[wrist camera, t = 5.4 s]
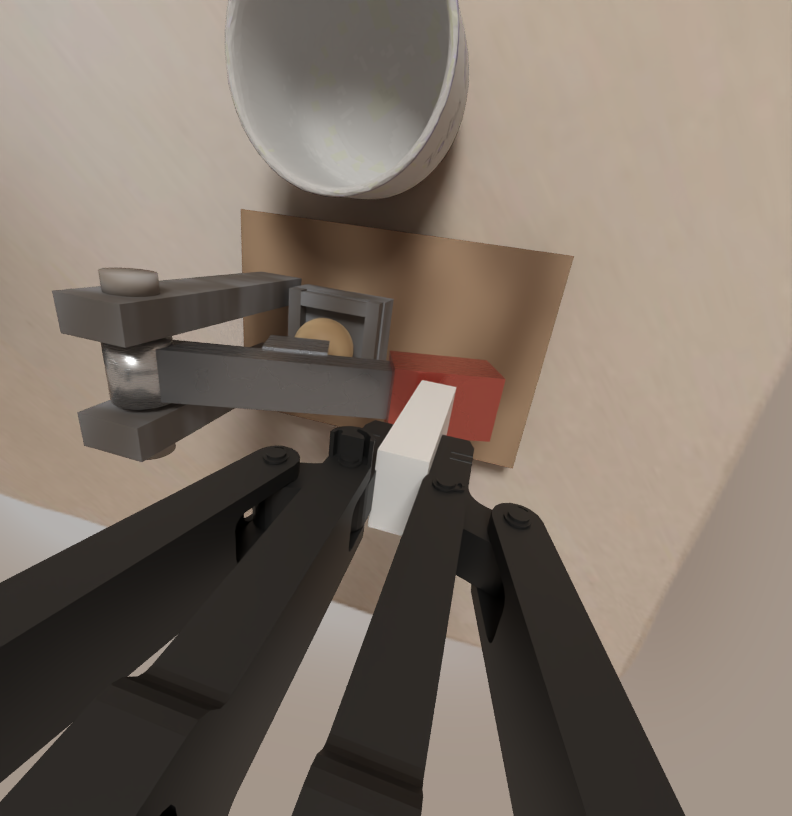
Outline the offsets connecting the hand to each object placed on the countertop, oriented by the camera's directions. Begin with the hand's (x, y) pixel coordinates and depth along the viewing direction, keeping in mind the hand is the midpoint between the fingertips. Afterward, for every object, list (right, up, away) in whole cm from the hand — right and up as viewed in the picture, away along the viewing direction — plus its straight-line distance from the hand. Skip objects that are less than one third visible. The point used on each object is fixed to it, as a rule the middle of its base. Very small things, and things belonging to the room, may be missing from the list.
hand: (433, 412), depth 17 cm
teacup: (-2, +20, +6) cm, 21 cm away
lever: (-6, +3, +4) cm, 8 cm away
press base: (-2, +5, +12) cm, 13 cm away
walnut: (-6, +4, +7) cm, 10 cm away
